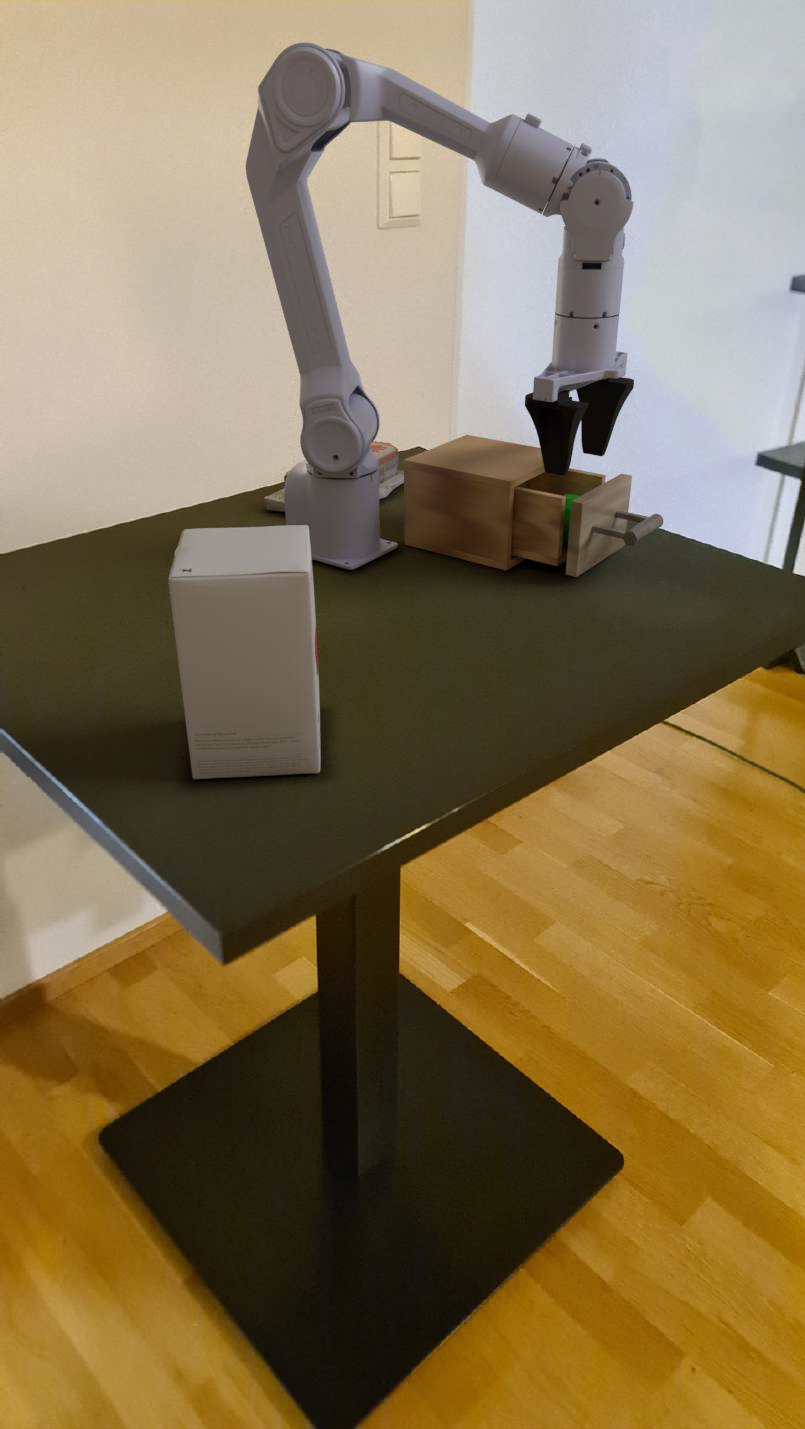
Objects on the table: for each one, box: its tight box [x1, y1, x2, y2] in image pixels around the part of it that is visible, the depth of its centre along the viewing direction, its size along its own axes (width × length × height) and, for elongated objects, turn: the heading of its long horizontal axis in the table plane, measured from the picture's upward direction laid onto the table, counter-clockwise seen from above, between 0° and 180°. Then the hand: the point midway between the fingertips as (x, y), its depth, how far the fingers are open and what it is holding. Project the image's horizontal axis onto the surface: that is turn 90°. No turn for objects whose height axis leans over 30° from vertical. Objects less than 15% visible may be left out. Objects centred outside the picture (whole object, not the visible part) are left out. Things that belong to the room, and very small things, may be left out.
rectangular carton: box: [167, 524, 322, 780], centre depth 70 cm, size 9×9×15 cm
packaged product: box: [263, 440, 404, 513], centre depth 121 cm, size 18×5×10 cm
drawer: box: [511, 467, 664, 578], centre depth 101 cm, size 16×10×7 cm, turn 54°
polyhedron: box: [562, 494, 580, 546], centre depth 101 cm, size 5×5×5 cm
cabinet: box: [403, 434, 545, 571], centre depth 106 cm, size 13×12×9 cm
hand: (575, 463), depth 98 cm, fingers open, 7 cm apart
